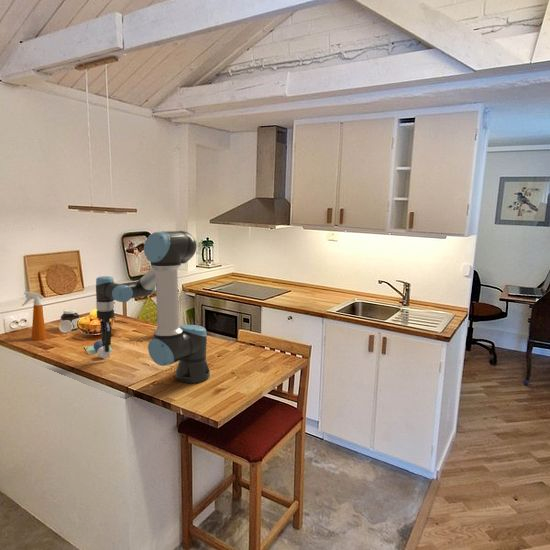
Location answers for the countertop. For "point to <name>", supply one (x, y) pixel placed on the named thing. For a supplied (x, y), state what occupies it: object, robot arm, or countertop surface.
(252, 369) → the countertop surface
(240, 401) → the countertop surface
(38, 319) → the spray bottle
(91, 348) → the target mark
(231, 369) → the countertop surface
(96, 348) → the object ball
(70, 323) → the spread jar
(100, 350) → the cue ball
